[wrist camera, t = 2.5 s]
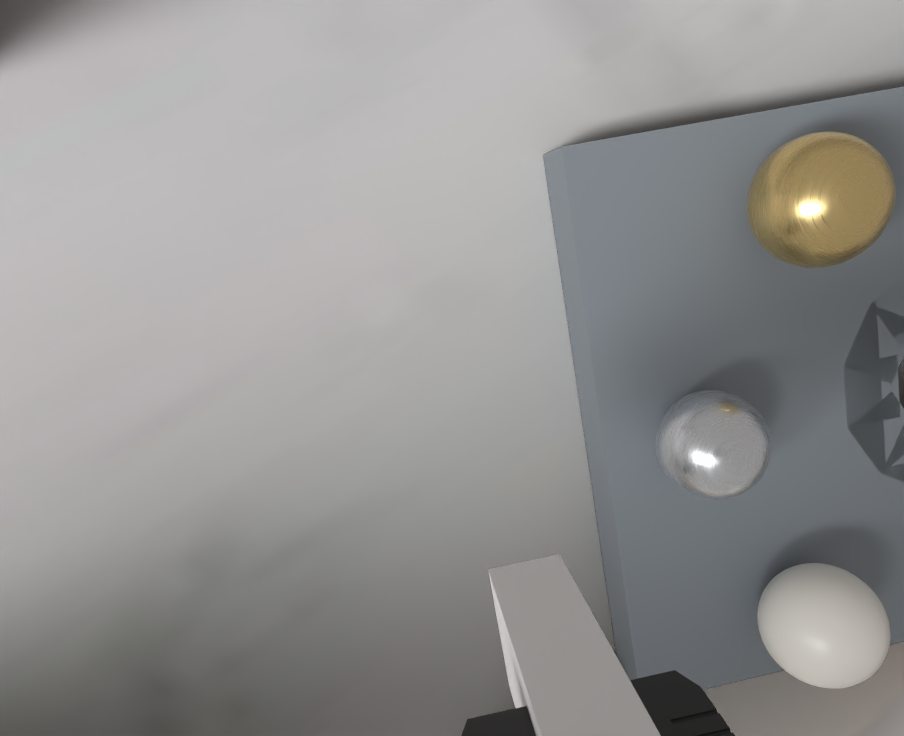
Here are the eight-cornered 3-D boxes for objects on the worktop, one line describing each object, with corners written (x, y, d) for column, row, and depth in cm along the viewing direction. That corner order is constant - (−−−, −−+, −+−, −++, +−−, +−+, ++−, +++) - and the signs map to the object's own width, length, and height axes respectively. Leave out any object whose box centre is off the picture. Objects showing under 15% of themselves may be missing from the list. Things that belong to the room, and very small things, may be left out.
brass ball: (729, 275, 24) (799, 283, 20) (717, 151, 23) (787, 135, 19) (842, 253, 24) (932, 257, 20) (833, 130, 24) (926, 110, 20)
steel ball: (645, 488, 25) (689, 528, 22) (633, 391, 24) (676, 417, 21) (741, 467, 25) (799, 504, 22) (732, 371, 25) (790, 393, 21)
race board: (618, 664, 29) (668, 752, 24) (543, 155, 25) (585, 135, 20) (1029, 568, 30) (1155, 632, 26) (1019, 70, 26) (1167, 33, 22)
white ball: (741, 655, 27) (805, 728, 23) (730, 557, 26) (795, 614, 22) (842, 631, 27) (922, 699, 23) (835, 533, 26) (917, 585, 22)
